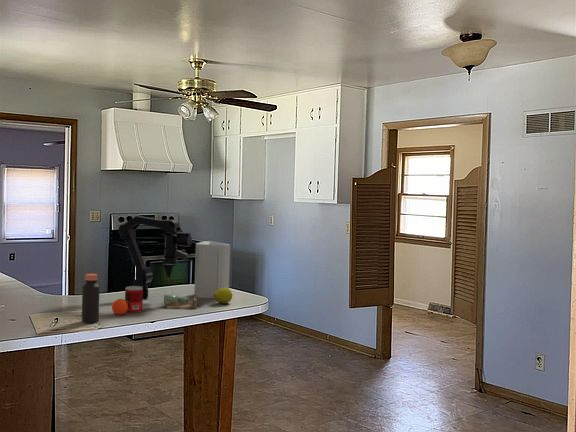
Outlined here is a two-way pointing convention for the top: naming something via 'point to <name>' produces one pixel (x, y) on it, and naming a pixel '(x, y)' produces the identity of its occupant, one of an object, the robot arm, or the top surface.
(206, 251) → the paper bag
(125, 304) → the clementine
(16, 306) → the top surface
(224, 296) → the lemon
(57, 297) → the top surface
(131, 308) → the canned food
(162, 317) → the top surface
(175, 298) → the bottle
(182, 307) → the cradle
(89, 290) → the vinegar
